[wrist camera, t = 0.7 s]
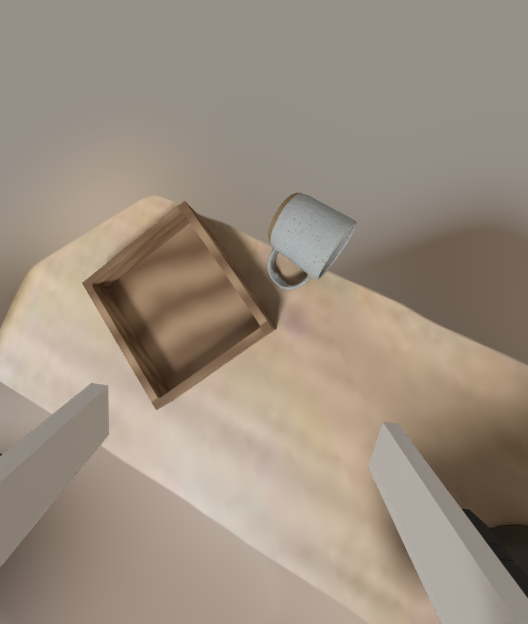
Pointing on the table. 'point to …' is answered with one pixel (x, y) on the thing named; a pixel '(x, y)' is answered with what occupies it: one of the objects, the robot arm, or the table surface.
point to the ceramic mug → (307, 236)
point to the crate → (176, 306)
